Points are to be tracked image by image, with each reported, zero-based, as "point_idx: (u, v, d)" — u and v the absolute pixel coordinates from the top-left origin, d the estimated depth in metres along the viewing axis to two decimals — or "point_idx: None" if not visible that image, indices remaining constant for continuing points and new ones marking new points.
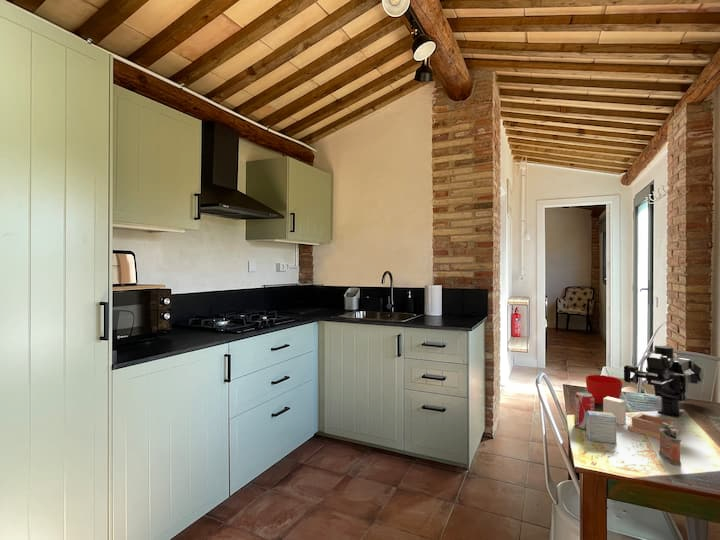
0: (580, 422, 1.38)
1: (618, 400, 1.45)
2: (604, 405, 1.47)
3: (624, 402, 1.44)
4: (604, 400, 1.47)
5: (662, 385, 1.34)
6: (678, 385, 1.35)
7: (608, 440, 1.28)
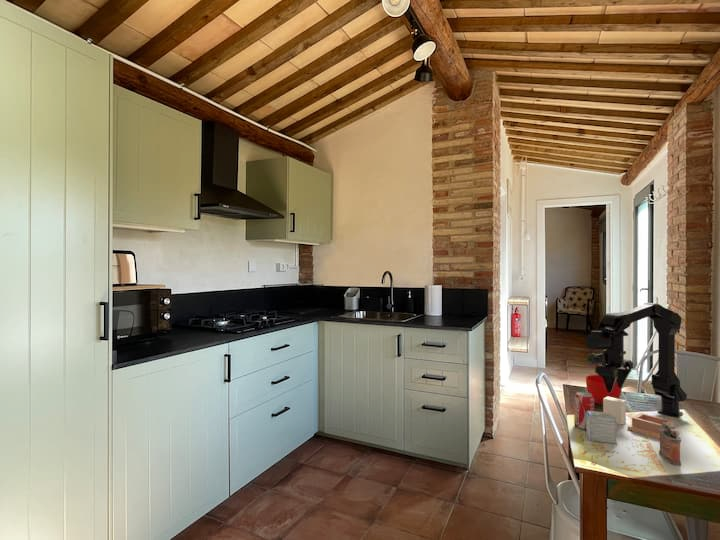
0: (580, 422, 1.38)
1: (618, 400, 1.45)
2: (604, 405, 1.47)
3: (624, 402, 1.44)
4: (604, 400, 1.47)
5: (608, 391, 1.43)
6: None
7: (608, 440, 1.28)
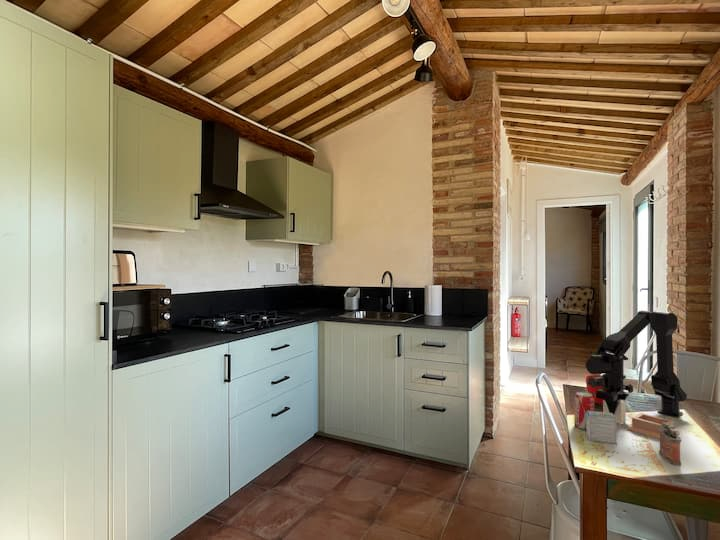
0: (580, 422, 1.38)
1: None
2: (604, 404, 1.47)
3: (624, 402, 1.44)
4: (604, 400, 1.47)
5: None
6: None
7: (608, 440, 1.28)
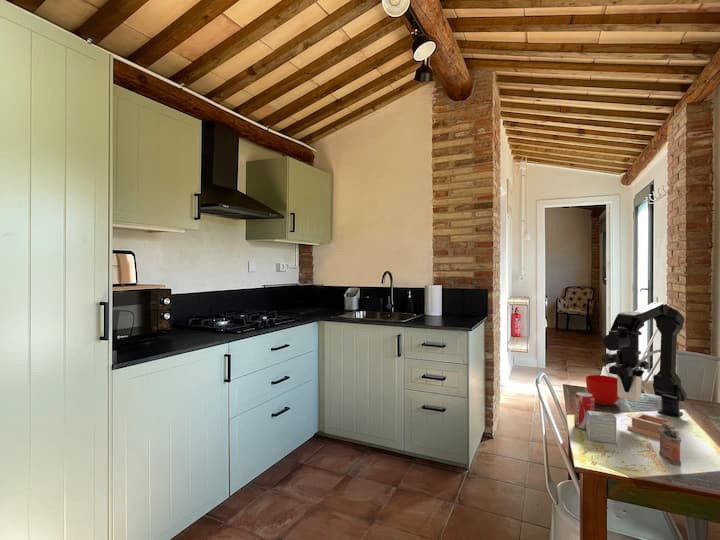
0: (580, 422, 1.38)
1: None
2: (619, 381, 1.43)
3: (639, 378, 1.40)
4: (618, 377, 1.43)
5: (626, 391, 1.41)
6: None
7: (608, 440, 1.28)
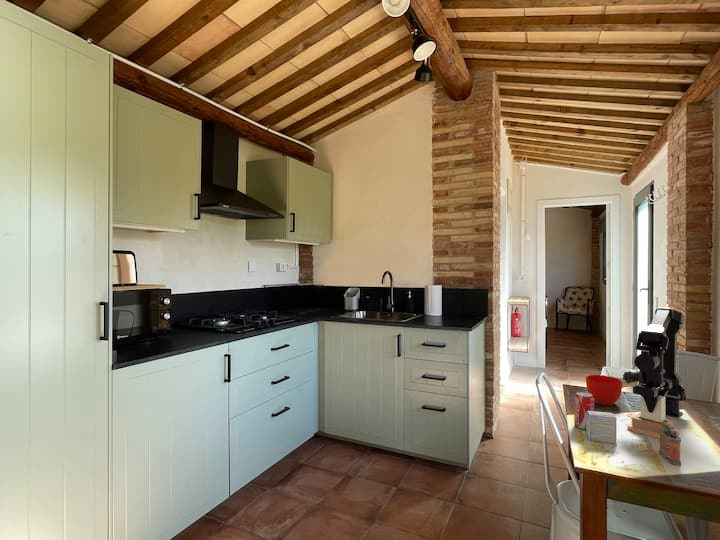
0: (580, 422, 1.38)
1: None
2: (642, 401, 1.37)
3: (664, 398, 1.35)
4: (641, 396, 1.37)
5: (650, 411, 1.35)
6: None
7: (608, 440, 1.28)
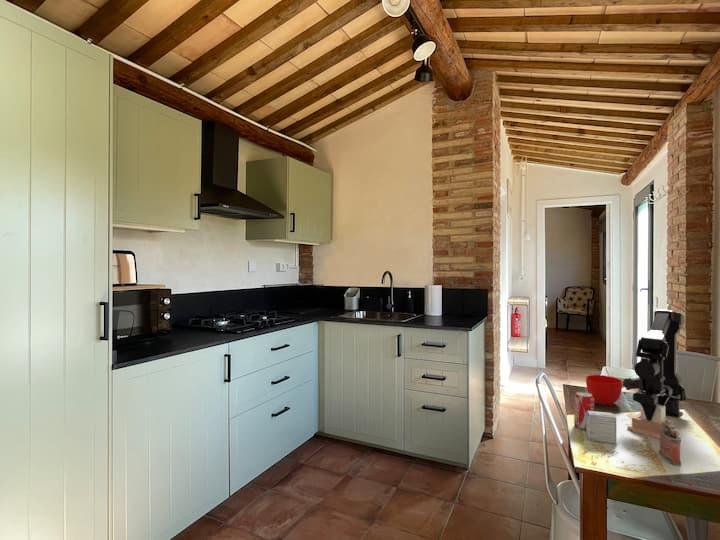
0: (580, 422, 1.38)
1: None
2: (642, 411, 1.37)
3: (664, 408, 1.35)
4: None
5: (648, 419, 1.34)
6: None
7: (608, 440, 1.28)
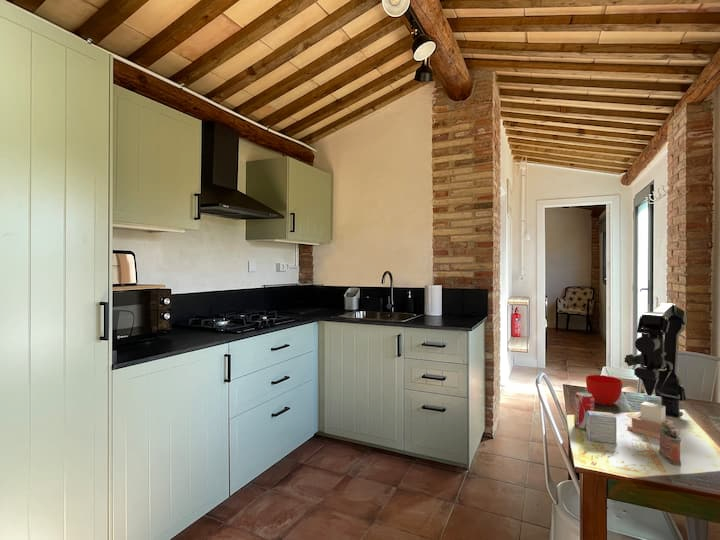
0: (580, 422, 1.38)
1: (657, 406, 1.35)
2: (642, 411, 1.37)
3: (664, 408, 1.35)
4: (642, 406, 1.37)
5: (648, 394, 1.36)
6: None
7: (608, 440, 1.28)
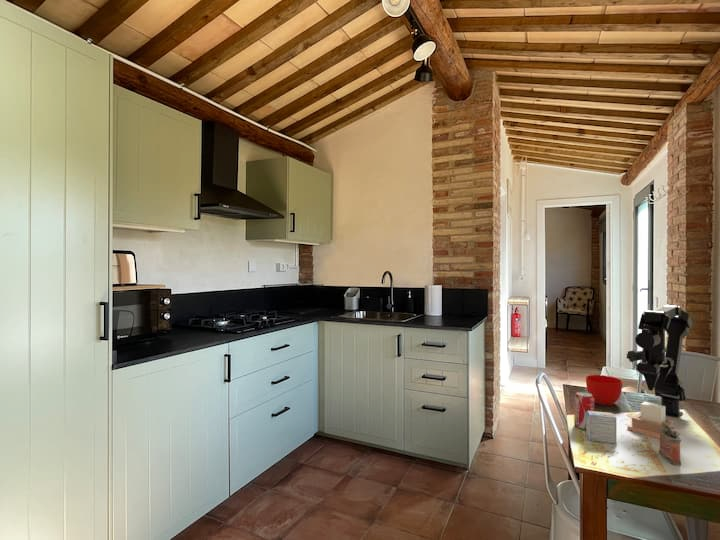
0: (580, 422, 1.38)
1: (657, 406, 1.35)
2: (642, 411, 1.37)
3: (664, 408, 1.35)
4: (642, 406, 1.37)
5: (650, 389, 1.40)
6: (649, 374, 1.38)
7: (608, 440, 1.28)
